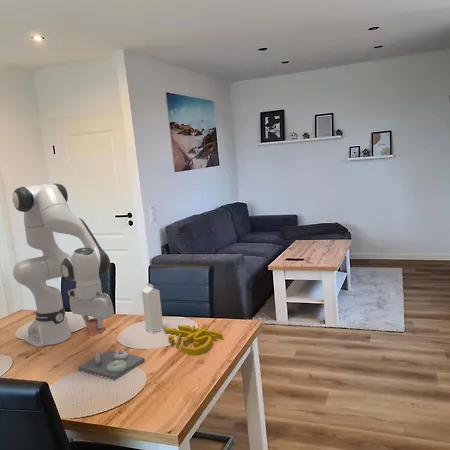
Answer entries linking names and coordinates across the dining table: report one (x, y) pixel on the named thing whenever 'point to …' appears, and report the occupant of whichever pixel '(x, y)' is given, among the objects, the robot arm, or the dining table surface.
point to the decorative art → (193, 338)
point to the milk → (152, 308)
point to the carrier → (111, 364)
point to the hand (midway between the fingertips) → (94, 326)
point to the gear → (93, 328)
